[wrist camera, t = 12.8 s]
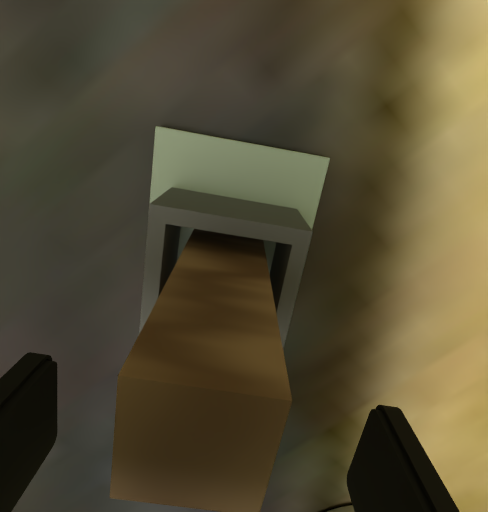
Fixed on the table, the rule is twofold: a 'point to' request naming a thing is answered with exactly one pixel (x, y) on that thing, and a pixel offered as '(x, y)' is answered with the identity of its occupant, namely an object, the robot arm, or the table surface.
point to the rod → (204, 384)
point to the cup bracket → (231, 207)
